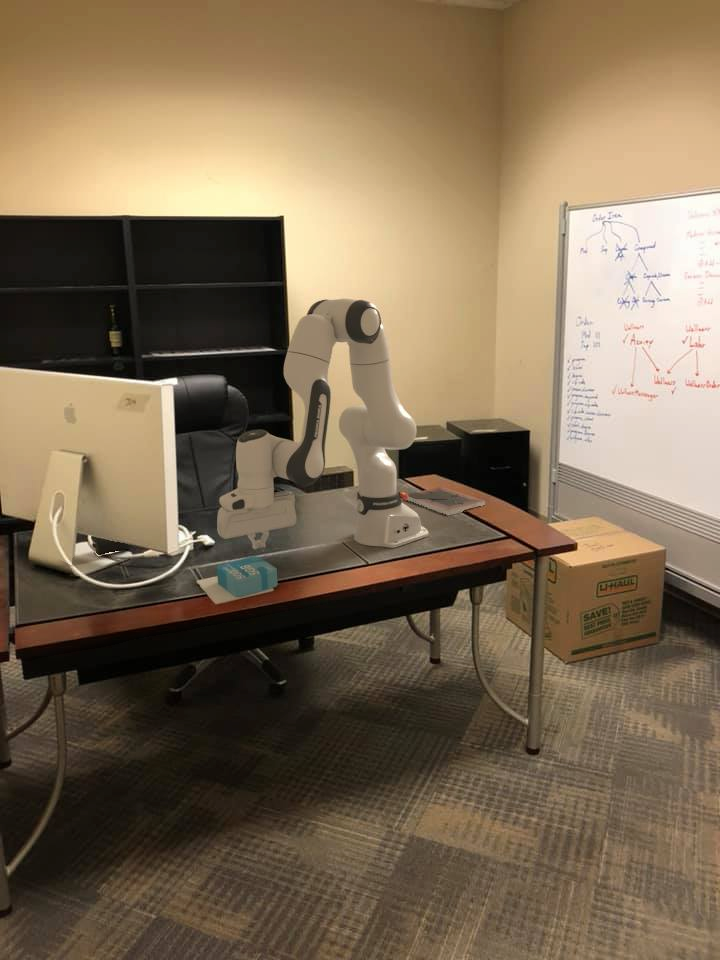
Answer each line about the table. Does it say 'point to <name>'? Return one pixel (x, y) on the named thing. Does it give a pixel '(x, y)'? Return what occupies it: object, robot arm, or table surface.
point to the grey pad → (221, 591)
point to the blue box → (247, 576)
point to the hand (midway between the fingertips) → (258, 547)
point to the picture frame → (444, 500)
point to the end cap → (108, 546)
